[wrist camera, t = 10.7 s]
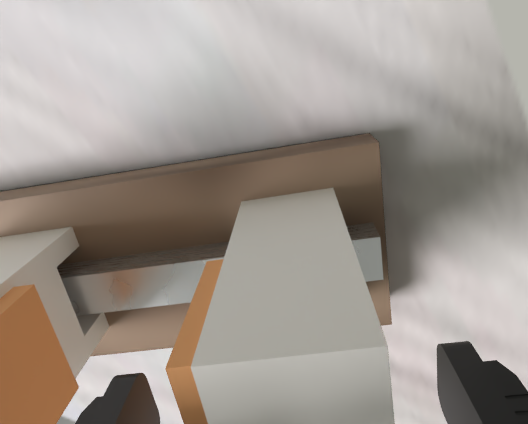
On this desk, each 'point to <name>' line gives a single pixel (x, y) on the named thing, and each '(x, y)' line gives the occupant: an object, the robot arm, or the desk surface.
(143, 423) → the robot arm
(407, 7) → the desk surface
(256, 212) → the white block with pad
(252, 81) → the desk surface
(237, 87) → the desk surface
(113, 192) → the rail
